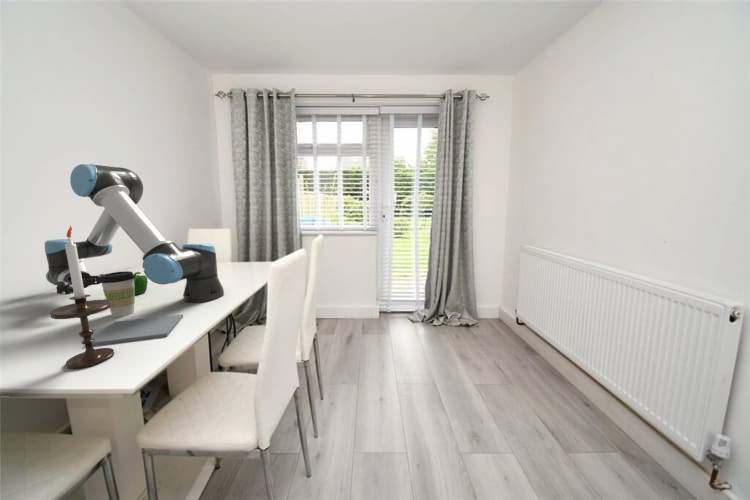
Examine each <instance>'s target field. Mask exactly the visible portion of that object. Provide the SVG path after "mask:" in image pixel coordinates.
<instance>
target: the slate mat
mask: <svg viewBox="0 0 750 500" xmlns="http://www.w3.org/2000/svg"><path fill="white" fill-rule="evenodd" d="M183 318H184V314H175V315H167V316H166V315H165V316H157V317H156V316H155V317H145V318H137V319H130V320H128V319H127V320H118V321H113V322H112V323H110V324H109V325H108V326H106V327H105V328H104V329H102V330H101V331H99V333H97V334H96V335H93V337H92V339H94V340H95V341H94V342H92V345H93V347H94V346H95V347H96V346H102V345H110V344H118V343H125V342H126V343H127V342H134V341H135V342H136V341H144V340H150V339H158V338H166V337H169V336H170V334H171V332H172V331H174V329H175V328H176V327H177V325H178V324H179V323H180V322H181V320H182V319H183Z"/></svg>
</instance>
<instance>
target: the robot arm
mask: <svg viewBox="0 0 750 500" xmlns="http://www.w3.org/2000/svg"><path fill="white" fill-rule="evenodd" d="M70 187H71V190H72V191H73V192H74V194H75V195H77V196H79V197H83V198H87V197H88V198H89V199H90V200H91V201H92V202H93V204H94V205H95V206H97V207H103V208H104V209H103V211H101V212H102V213H101V214H100V216H99V218H98V220H97V221H96V223H95V225H94V226H93V228H92V230H91V232H90V234H89V235H88V237H87V238H86V239H85V240H84V241H83V240H82V241H76V242H75V241H74V242H73V241H72V242H73V244H76V248H77V254H78V259H84V260H85V259H90V258H97V257H103V256H106V255H107V256H108V255H110V254H111V253H112V252H113V244H112V239H113V238H114V237H115V235H116V233H118V230H119V228H121V229H122V230H123V231H124V233H126V235H127V236H128V237H129V239H130V240H132V242H134V244H135V246H137V247H138V249H139V250H140V251H141V252H142V254H143V255H142V261H143V262H142V269H144V270H143V273H144V276H146V277H147V280H150V281H151V282H153V283H155V284H157V285H169V284H175V283H179V282H180V281H183V280H185V281H186V283H185V286H184V289H183V294H182V297H183V301H184V302H188V303H201V302H202V303H203V302H207V301H208V302H209V301H212V300H216V299H218V298H221V297H223V296H224V295H225V289H224V287H223V285H222V283H221V281H220V279H219V275H218V264H217V252H216V247H215V245H213V244H210V243H184V244H183V245H182V247H181V248H180V247H179V246H178V245H177V244H176V242H175V241H172V240H171V241H170V240H168V239H166V238H165V237H164V235H163V234H162V233H161V232H160V230H159V229H157V227H156V226H155V225H154V224H153V223H152V222H151V220H150V219H149V218H148V216H146V214H145V213H144V212H143V211H142V210H141V208H140V207H139V206H138V203H139V202H140V201H141V199H142V197H143V193H144V185H143V182H142V180H141V178H140V177H139V175H138V174H137V173H136V172H135V171H133V170H131V169H128V168H125V167H121V166H120V167H119V166H118V167H117V166H109V165H108V166H107V165H100V164H92V163H90V164H89V163H83V164H78V165H76V166H75V167H74V168H73V169H72V171H71V173H70ZM67 242H68V238H59V239H58V238H57V239H50V240H49V239H48V240H46V241H45V242H44V253H45V257H46V261H47V265H48V266H47V267H48V268H47V269H48V271H47V272H46V274H45V279H46V281H47V282H48V283H50V284H51V285H54V286H56V294H57V295H61V294H65V295H67V296H68V295H71V294H74V291H73V286H72V280H71V275H70V270H69V264H68V259H67V253H66V248H65V244H67ZM105 274H106V273H105ZM105 274H104V273H101V274H99V275H92V274H90V273H89V272H87V271H86V272H84V271H81V276H82V282H83V287H84V289H85V288H86V289H87V288H89V286H95V285H101V283H100V282H99V281H100V279H101V276H102V275H105ZM63 292H65V293H63Z"/></svg>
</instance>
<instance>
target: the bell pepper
mask: <svg viewBox="0 0 750 500" xmlns="http://www.w3.org/2000/svg"><path fill="white" fill-rule="evenodd" d="M141 273H142V272H141V271H137V272H134V273H133V275H135V278H134V285H135V296H137V295H142V294H145V293H146V291H147V288H148V278H147V276H146V275H141Z"/></svg>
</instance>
